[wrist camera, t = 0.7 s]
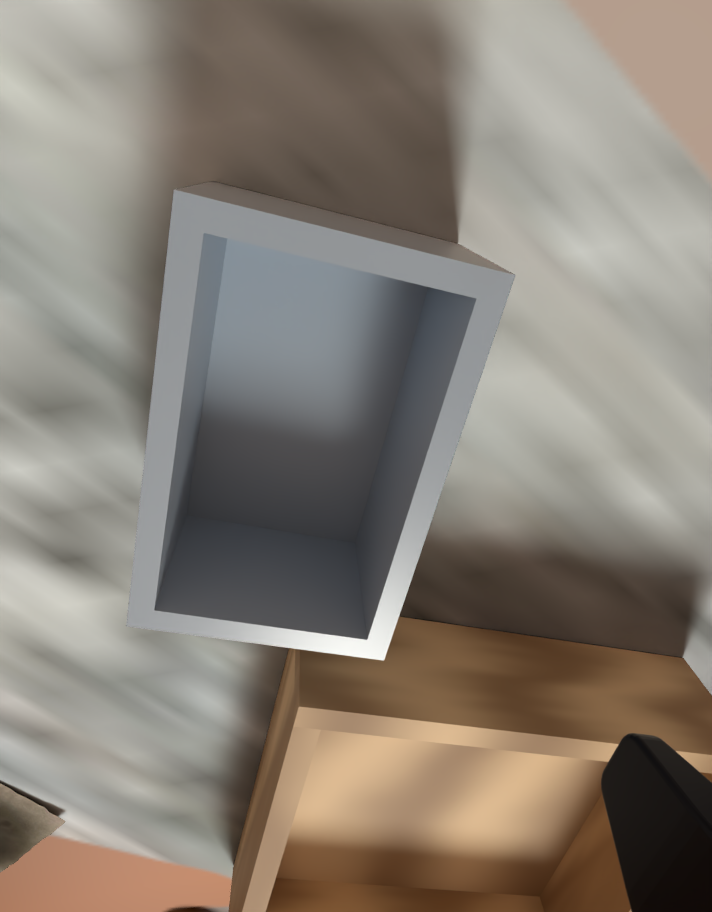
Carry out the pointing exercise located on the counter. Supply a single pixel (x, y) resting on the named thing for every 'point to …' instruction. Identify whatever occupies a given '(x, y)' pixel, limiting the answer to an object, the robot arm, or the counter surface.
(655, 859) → the robot arm
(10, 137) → the counter surface
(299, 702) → the big crate
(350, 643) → the small crate
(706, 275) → the counter surface
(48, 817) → the condiment
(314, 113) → the counter surface
